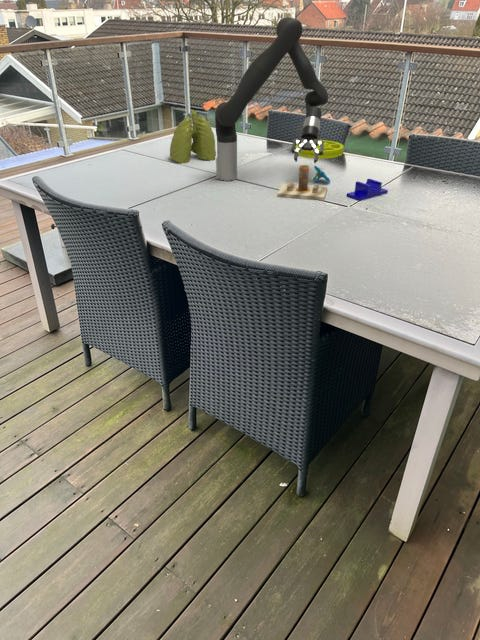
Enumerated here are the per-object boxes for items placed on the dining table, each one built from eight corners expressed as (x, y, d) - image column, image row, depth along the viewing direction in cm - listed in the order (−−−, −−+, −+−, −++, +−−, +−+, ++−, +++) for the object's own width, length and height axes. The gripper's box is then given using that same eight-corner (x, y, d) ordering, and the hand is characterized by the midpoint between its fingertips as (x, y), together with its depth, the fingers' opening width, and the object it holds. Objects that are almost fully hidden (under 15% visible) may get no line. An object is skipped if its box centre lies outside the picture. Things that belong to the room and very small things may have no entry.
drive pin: (297, 190, 212) (298, 167, 207) (298, 187, 215) (300, 164, 210) (306, 191, 211) (308, 168, 206) (308, 188, 215) (309, 165, 209)
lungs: (210, 153, 274) (209, 107, 261) (219, 160, 262) (218, 112, 249) (166, 157, 267) (163, 110, 254) (174, 164, 254) (170, 115, 242)
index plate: (277, 196, 210) (277, 188, 209) (282, 187, 222) (283, 179, 220) (323, 200, 206) (324, 192, 204) (327, 190, 218) (327, 182, 216)
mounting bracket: (374, 190, 220) (376, 176, 217) (387, 194, 215) (389, 180, 212) (346, 197, 211) (348, 183, 208) (358, 202, 206) (360, 187, 203)
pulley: (350, 151, 281) (351, 142, 278) (330, 161, 261) (331, 152, 258) (306, 145, 293) (307, 136, 290) (284, 154, 273) (285, 145, 271)
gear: (333, 181, 224) (319, 166, 220) (324, 191, 225) (310, 176, 221) (327, 178, 234) (313, 163, 230) (318, 187, 235) (304, 172, 231)
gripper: (295, 123, 220) (289, 155, 217) (326, 125, 217) (321, 158, 214) (296, 133, 228) (290, 164, 224) (326, 135, 225) (321, 167, 221)
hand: (305, 161), depth 219 cm, fingers open, 8 cm apart
